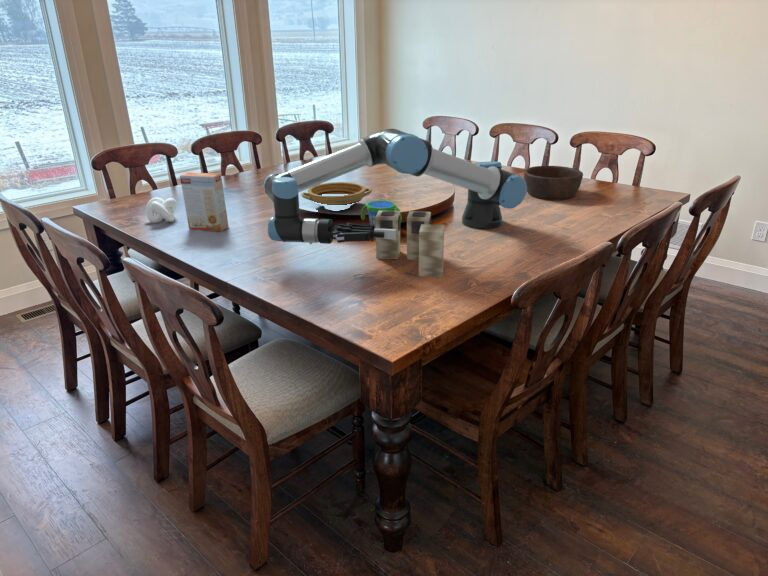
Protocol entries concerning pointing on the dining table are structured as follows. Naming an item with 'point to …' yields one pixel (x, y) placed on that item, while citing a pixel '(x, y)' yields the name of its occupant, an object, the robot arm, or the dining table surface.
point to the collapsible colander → (351, 189)
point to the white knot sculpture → (160, 209)
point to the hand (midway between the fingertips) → (395, 234)
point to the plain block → (431, 250)
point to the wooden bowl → (552, 182)
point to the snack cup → (376, 206)
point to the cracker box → (204, 201)
